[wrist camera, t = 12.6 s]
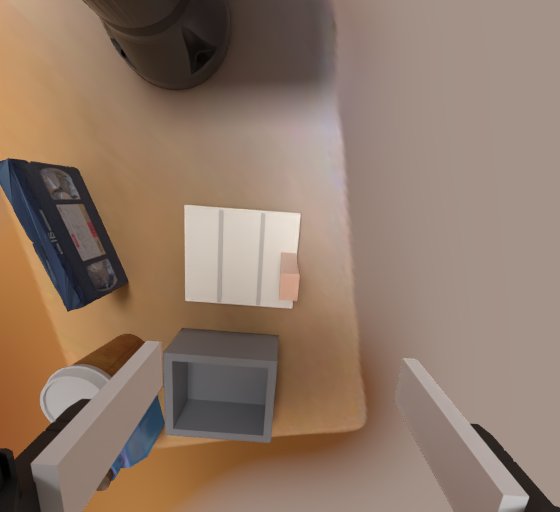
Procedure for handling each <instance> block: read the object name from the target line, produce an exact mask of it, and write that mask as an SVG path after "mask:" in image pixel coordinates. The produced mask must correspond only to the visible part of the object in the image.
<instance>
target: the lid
mask: <svg viewBox="0 0 560 512" xmlns="http://www.w3.org/2000/svg"><path fill="white" fill-rule="evenodd" d="M184 207H185V301H194V302H208V303H221V304H235V305H249V306H262V307H276V308H290V309H292V306H293V301H297V298H298V288H299V277H300V274H299V269H298V264H297V250H298V238H299V227H300V216H301V213H291V212H277V211H264V210H250V209H237V208H223V207H210V206H196V205H184Z"/></svg>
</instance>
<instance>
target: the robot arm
mask: <svg viewBox="0 0 560 512" xmlns="http://www.w3.org/2000/svg"><path fill="white" fill-rule="evenodd" d="M83 1H84V2H85V3H86V4H87V5H88V6H89V7H90V8H91V9H92V10H93V11H94V12H95V13H96V14H97V15H98V16H99V18H100V20H101V21H102V23H103V25H104V27H105V29H106V31H107V33H108V35H109V37H110V39H111V41H112V43H113V45H114V46H115V48H116V50H117V51H118V53H119V54H120V55H121V57H122V58H123V59H124V60H125V62H126V63H127V64H128V65H129V66H130V67H131V68H132V69H134V70H135V71H136V72H137V73H138V74H139V75H141V76H142V77H143V78H144V79H146V80H147V81H149V82H151V83H152V84H155V85H157V86H159V87H162V88H166V89H173V90H181V89H188V88H191V87H194V86H197V85H199V84H201V83H202V82H204V81H205V80H207V79H208V78H209V77H210V76H212V75H213V73H214V72H215V71H216V70H217V69H218V67H219V66H220V64H221V63H222V61H223V59H224V57H225V54H226V52H227V49H228V45H229V40H230V32H231V21H230V13H229V8H228V4H227V0H83ZM162 386H163V378H162V352H161V342H159V341H146V342H145V343H144V344H143V345H142V346H141V347H140V349H139V350H138V351H137V352H136V353H135V354H134V355H133V356H132V357H131V358H130V359H129V360H128V361H127V362H126V363H125V364H124V365H123V367H122V368H121V369H120V370H119V371H118V372H117V373H116V374H115V375H114V376H113V377H112V378H111V379H110V380H109V381H108V382H107V383H106V385H105V386H104V387H103V388H102V389H101V390H100V391H99V392H98V393H97V394H96V395H95V396H94V397H93V398H92V399H81V400H79V401H77V402H76V403H74V404H73V405H71V406H69V407H68V408H67V409H66V410H65V411H64V412H63V413H62V414H61V415H60V416H59V417H58V418H56V420H55V422H52V423H51V424H50V425H49V426H48V427H47V428H46V431H43V432H42V433H41V434H40V435H39V436H38V437H37V438H36V439H35V440H34V441H33V442H32V443H31V444H30V445H29V446H28V447H27V448H26V449H25V450H24V451H23V452H22V453H21V454H20V455H19V456H18V457H17V458H16V459H15V460H14V456H13V452H12V451H11V450H9V449H7V448H4V449H0V512H82V511H83V510H84V508H85V507H86V505H87V504H88V502H89V500H90V499H91V497H92V496H93V494H94V493H95V491H96V489H97V488H98V486H99V485H100V483H101V482H102V480H103V478H104V477H105V475H106V474H107V472H108V471H109V469H110V467H111V466H112V464H113V463H114V461H115V460H116V458H117V456H118V455H119V453H120V452H121V450H122V449H123V447H124V445H125V444H126V442H127V441H128V439H129V438H130V436H131V435H132V433H133V431H134V430H135V428H136V427H137V425H138V424H139V422H140V420H141V419H142V417H143V416H144V414H145V413H146V411H147V409H148V408H149V406H150V405H151V403H152V402H153V400H154V398H155V397H156V395H157V394H158V392H159V391H160V389H161V387H162ZM394 402H395V404H396V406H397V407H398V409H399V411H400V413H401V415H402V417H403V419H404V420H405V422H406V424H407V426H408V428H409V430H410V431H411V433H412V435H413V437H414V439H415V441H416V443H417V444H418V446H419V448H420V450H421V452H422V454H423V455H424V457H425V459H426V461H427V463H428V465H429V467H430V468H431V470H432V472H433V474H434V476H435V478H436V479H437V481H438V483H439V485H440V487H441V489H442V490H443V492H444V494H445V496H446V498H447V500H448V502H449V504H450V505H451V507H452V509H453V511H454V512H560V508H559V507H556V506H554V505H553V504H552V503H551V502H550V501H549V500H548V499H547V497H546V496H545V495H544V494H543V493H542V492H541V491H540V489H539V488H538V487H537V486H536V485H535V484H534V483H533V482H532V480H531V479H530V478H529V477H528V476H527V475H526V473H525V472H524V471H523V470H522V469H521V468H520V467H519V465H518V464H517V463H516V462H514V461H513V459H512V458H511V456H510V455H509V454H508V453H507V452H506V451H504V449H503V447H502V446H501V445H500V444H499V443H498V441H497V440H496V439H495V438H494V437H493V436H492V435H491V434H490V433H489V432H487V431H486V430H485V429H483V428H482V427H481V426H480V425H478V424H469V423H468V421H467V420H466V419H465V418H464V416H463V415H462V414H461V413H460V411H459V410H458V409H457V408H456V407H455V405H454V404H453V403H452V402H451V400H450V399H449V398H448V397H447V396H446V394H445V393H444V392H443V391H442V389H441V388H440V387H439V386H438V385H437V383H436V382H435V381H434V380H433V379H432V377H431V376H430V375H429V374H428V372H427V371H426V370H425V369H424V368H423V367H422V365H421V364H420V363H419V361H418V360H417V359H408V358H402V363H401V368H400V373H399V379H398V383H397V388H396V393H395V399H394Z"/></svg>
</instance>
